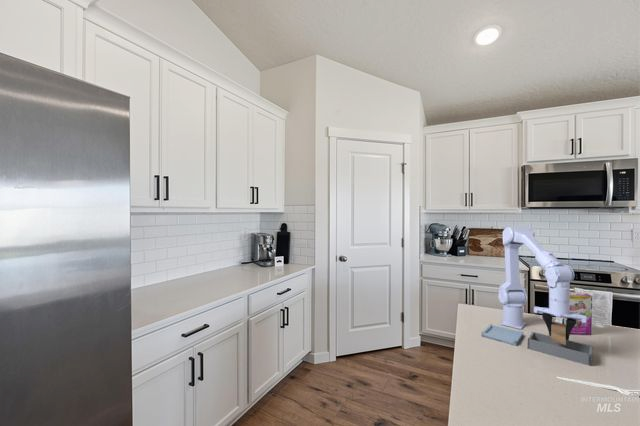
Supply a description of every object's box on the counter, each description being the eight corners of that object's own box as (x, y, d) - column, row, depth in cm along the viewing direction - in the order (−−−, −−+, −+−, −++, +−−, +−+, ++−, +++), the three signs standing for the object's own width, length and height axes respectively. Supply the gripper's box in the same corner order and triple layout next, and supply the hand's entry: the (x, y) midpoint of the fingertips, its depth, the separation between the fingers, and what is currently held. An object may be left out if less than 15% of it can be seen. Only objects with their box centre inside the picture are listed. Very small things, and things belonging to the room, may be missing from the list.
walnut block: (552, 337, 108) (552, 321, 107) (566, 341, 105) (566, 324, 105) (551, 341, 105) (551, 324, 105) (565, 344, 102) (565, 327, 102)
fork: (555, 377, 90) (555, 371, 90) (646, 394, 81) (646, 387, 81) (557, 382, 87) (557, 376, 87) (652, 401, 78) (652, 394, 78)
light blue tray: (490, 327, 127) (490, 324, 127) (523, 336, 118) (523, 332, 118) (481, 336, 118) (481, 332, 118) (516, 345, 110) (516, 341, 110)
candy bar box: (563, 334, 120) (563, 294, 120) (554, 329, 125) (554, 291, 125) (592, 335, 119) (592, 295, 118) (583, 330, 123) (583, 292, 123)
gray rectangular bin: (532, 340, 114) (532, 331, 114) (592, 356, 102) (592, 346, 102) (527, 348, 107) (527, 339, 107) (591, 365, 95) (591, 355, 95)
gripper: (532, 297, 107) (532, 334, 107) (585, 306, 97) (585, 347, 97) (535, 293, 112) (535, 328, 112) (587, 301, 102) (586, 340, 102)
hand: (559, 337), depth 105 cm, fingers closed on walnut block, 4 cm apart
